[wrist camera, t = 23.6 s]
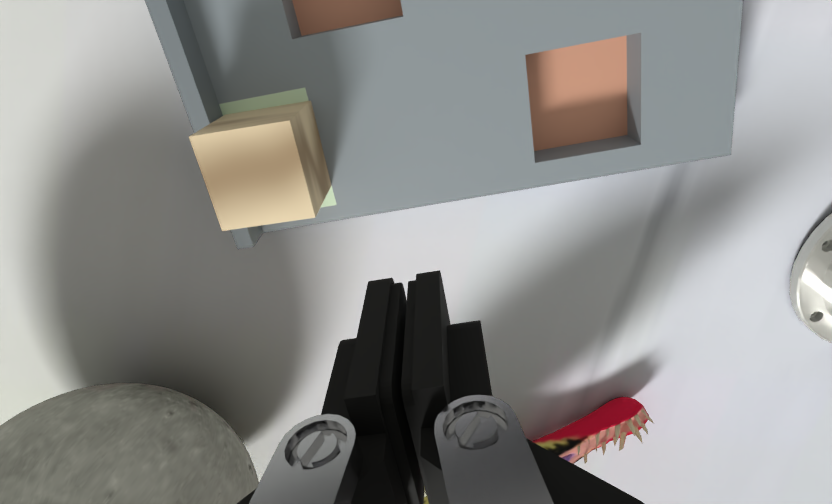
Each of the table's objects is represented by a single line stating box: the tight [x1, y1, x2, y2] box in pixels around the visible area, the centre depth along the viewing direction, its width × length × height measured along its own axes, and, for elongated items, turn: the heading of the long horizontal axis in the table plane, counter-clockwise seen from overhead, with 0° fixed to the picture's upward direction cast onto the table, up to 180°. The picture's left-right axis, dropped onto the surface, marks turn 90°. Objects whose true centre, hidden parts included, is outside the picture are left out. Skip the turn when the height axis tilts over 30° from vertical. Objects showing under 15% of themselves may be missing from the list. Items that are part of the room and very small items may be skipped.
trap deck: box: [145, 0, 743, 249], centre depth 28 cm, size 18×29×4 cm, turn 101°
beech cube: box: [189, 101, 331, 231], centre depth 28 cm, size 5×5×5 cm
